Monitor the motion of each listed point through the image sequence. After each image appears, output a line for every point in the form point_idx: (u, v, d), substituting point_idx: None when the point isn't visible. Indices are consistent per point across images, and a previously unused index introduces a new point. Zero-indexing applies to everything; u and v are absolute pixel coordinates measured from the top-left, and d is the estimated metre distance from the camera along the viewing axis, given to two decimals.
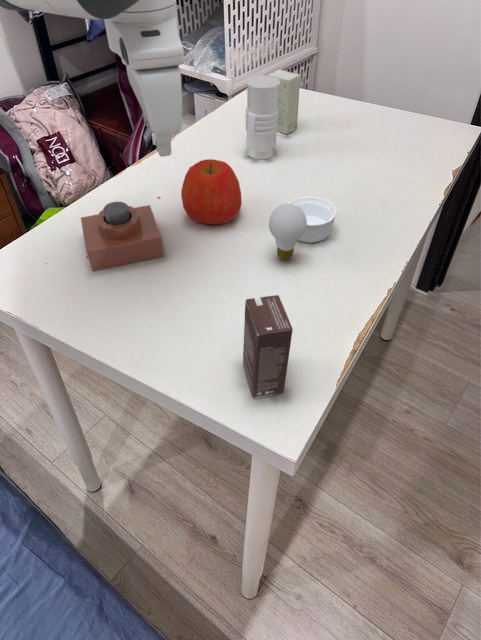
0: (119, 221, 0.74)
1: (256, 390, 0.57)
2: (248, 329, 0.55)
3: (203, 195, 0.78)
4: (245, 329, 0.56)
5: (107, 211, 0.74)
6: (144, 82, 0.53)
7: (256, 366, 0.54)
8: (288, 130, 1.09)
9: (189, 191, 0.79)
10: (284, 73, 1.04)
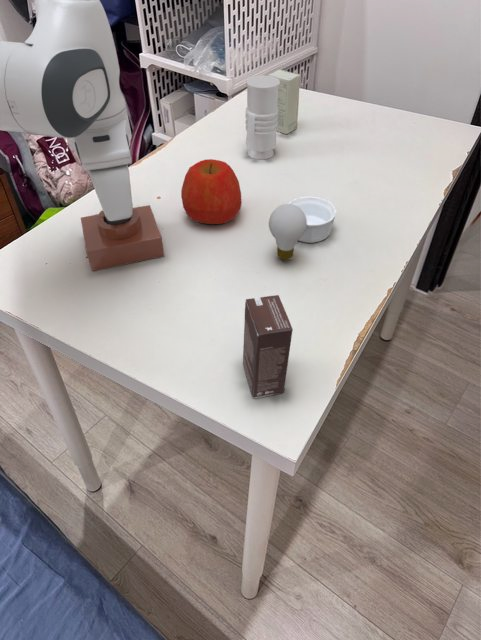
0: None
1: (256, 390, 0.57)
2: (248, 329, 0.55)
3: (203, 195, 0.78)
4: (245, 329, 0.56)
5: None
6: (96, 180, 0.61)
7: (256, 366, 0.54)
8: (288, 130, 1.09)
9: (189, 191, 0.79)
10: (284, 73, 1.04)
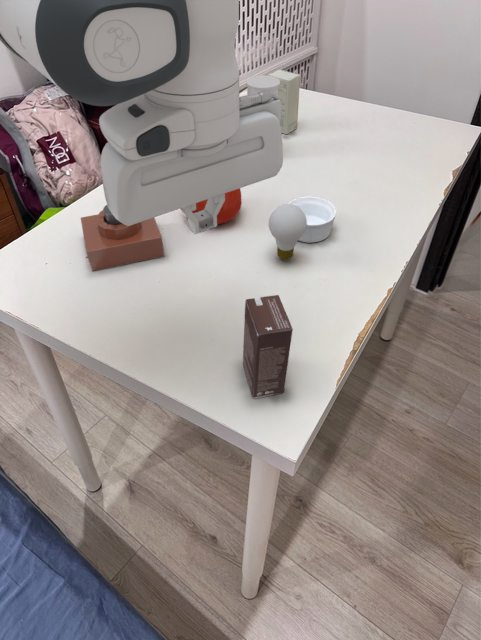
0: (119, 221, 0.74)
1: (256, 390, 0.57)
2: (248, 329, 0.55)
3: None
4: (245, 329, 0.56)
5: (107, 211, 0.74)
6: (102, 153, 0.45)
7: (256, 366, 0.54)
8: (288, 130, 1.09)
9: None
10: (284, 73, 1.04)
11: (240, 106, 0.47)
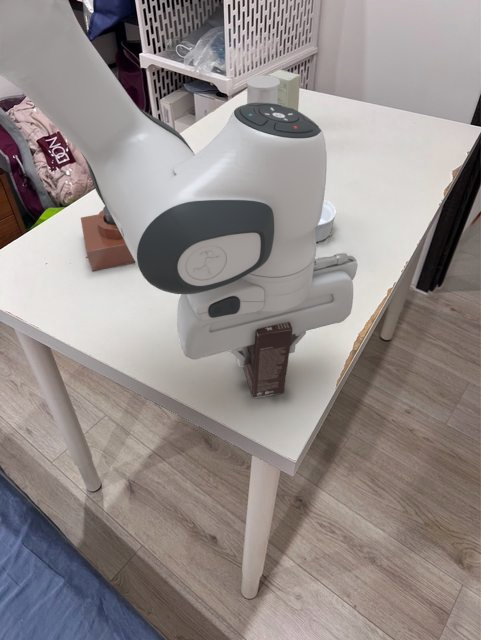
0: None
1: (256, 390, 0.57)
2: None
3: None
4: None
5: (107, 211, 0.74)
6: (180, 297, 0.49)
7: (255, 366, 0.54)
8: None
9: None
10: (284, 73, 1.04)
11: (315, 268, 0.49)
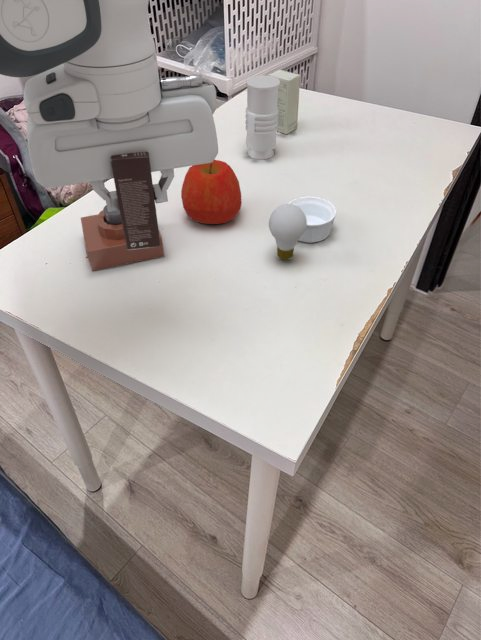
0: (119, 221, 0.74)
1: (128, 239, 0.56)
2: None
3: (203, 195, 0.78)
4: None
5: (107, 211, 0.74)
6: None
7: (119, 205, 0.53)
8: (288, 130, 1.09)
9: (189, 191, 0.79)
10: (284, 73, 1.04)
11: (166, 87, 0.47)
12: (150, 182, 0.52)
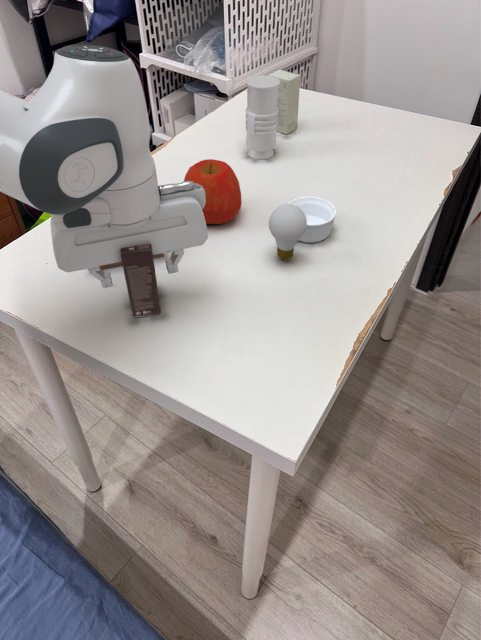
0: None
1: (134, 309, 0.67)
2: None
3: None
4: None
5: None
6: (51, 217, 0.58)
7: (127, 285, 0.64)
8: (288, 130, 1.09)
9: None
10: (284, 73, 1.03)
11: (164, 192, 0.58)
12: (152, 267, 0.63)
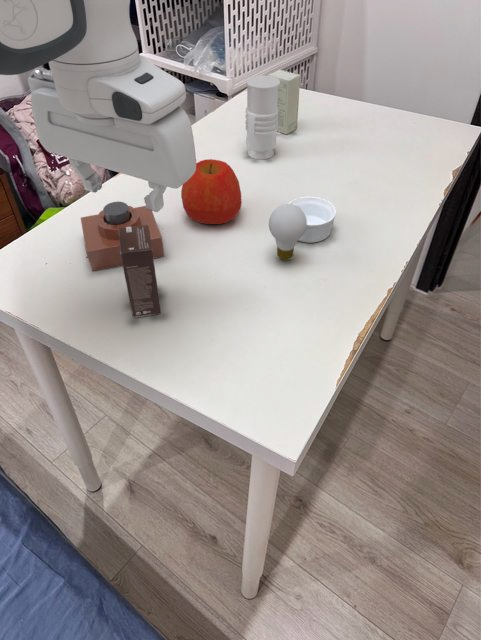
0: (119, 221, 0.74)
1: (134, 309, 0.67)
2: None
3: (203, 195, 0.78)
4: None
5: (107, 211, 0.74)
6: (166, 132, 0.46)
7: (127, 285, 0.64)
8: (288, 130, 1.09)
9: (189, 191, 0.79)
10: (284, 73, 1.03)
11: None
12: (152, 267, 0.63)
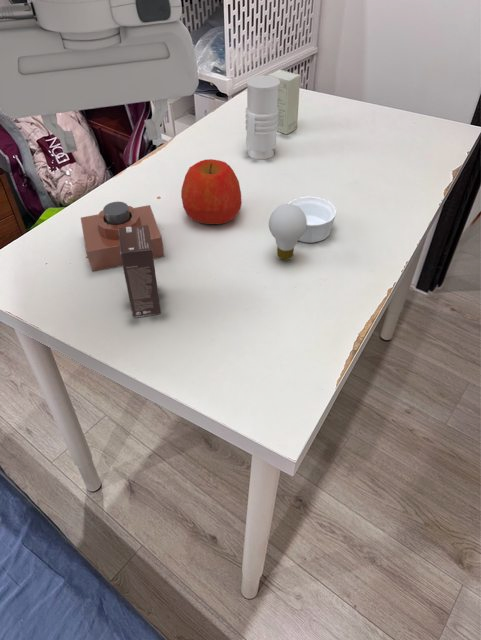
0: (119, 221, 0.74)
1: (134, 309, 0.67)
2: None
3: (203, 195, 0.78)
4: None
5: (107, 211, 0.74)
6: None
7: (127, 285, 0.64)
8: (288, 130, 1.09)
9: (189, 191, 0.79)
10: (284, 73, 1.03)
11: None
12: (152, 267, 0.63)
